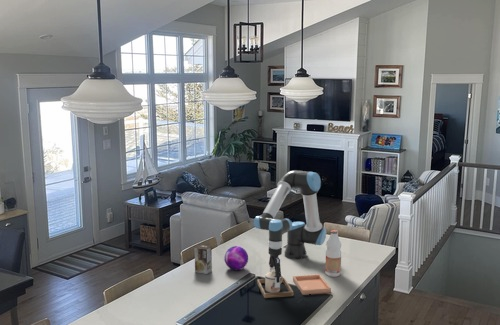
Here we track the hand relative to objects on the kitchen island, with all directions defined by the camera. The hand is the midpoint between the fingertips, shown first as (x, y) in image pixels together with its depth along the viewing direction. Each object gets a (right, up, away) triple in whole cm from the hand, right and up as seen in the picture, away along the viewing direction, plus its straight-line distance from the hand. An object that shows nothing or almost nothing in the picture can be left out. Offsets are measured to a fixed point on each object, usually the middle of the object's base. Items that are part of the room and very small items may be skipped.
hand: (274, 282), depth 288 cm
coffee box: (-43, 0, +27) cm, 51 cm away
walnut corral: (0, -4, +1) cm, 4 cm away
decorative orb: (-23, +1, +31) cm, 38 cm away
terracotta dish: (+22, -3, +5) cm, 22 cm away
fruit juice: (+37, -1, +24) cm, 44 cm away
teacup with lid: (0, -4, +1) cm, 4 cm away
